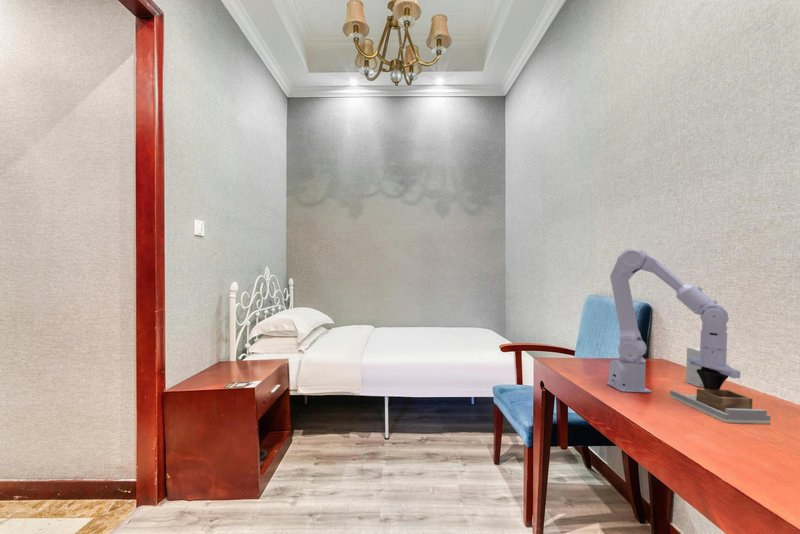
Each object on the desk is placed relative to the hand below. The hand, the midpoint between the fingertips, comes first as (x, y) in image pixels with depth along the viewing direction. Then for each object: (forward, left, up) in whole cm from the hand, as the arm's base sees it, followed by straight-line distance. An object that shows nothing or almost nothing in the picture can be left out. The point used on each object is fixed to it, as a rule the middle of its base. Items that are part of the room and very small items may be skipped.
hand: (711, 396), depth 104 cm
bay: (-1, -3, -3) cm, 4 cm away
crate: (-1, -5, -2) cm, 5 cm away
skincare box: (+13, +19, -3) cm, 23 cm away
